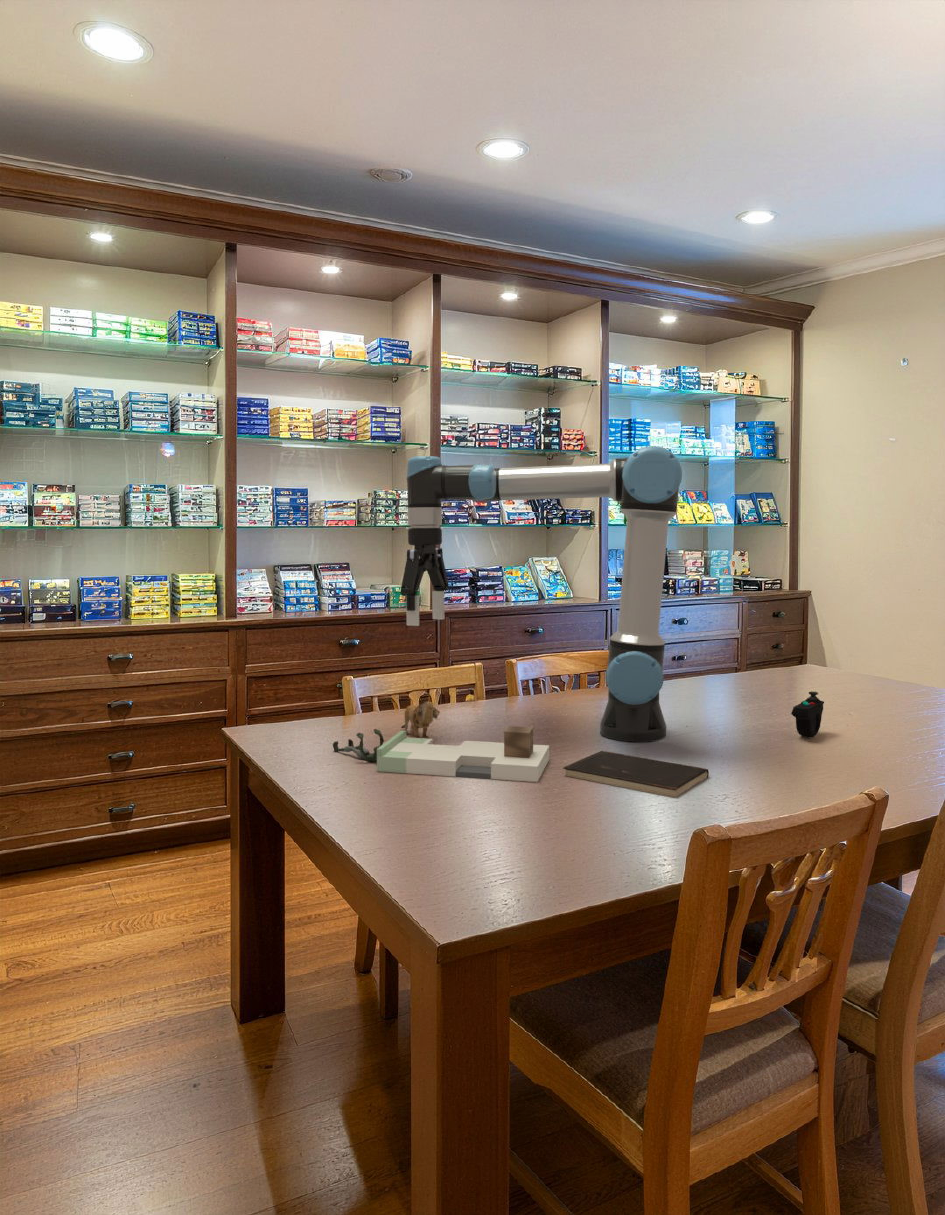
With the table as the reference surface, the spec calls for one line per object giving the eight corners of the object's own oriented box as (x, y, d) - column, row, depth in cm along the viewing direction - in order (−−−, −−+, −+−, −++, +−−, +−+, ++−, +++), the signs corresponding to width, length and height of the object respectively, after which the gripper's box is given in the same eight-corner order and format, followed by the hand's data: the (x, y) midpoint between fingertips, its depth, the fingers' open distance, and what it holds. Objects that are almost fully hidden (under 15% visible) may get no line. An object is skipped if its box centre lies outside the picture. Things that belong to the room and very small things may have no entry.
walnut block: (533, 751, 172) (533, 727, 172) (529, 758, 167) (529, 733, 167) (508, 750, 173) (508, 726, 173) (504, 756, 169) (504, 731, 168)
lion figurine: (442, 741, 193) (442, 702, 192) (422, 744, 190) (422, 704, 189) (410, 728, 205) (410, 691, 204) (390, 731, 202) (390, 694, 201)
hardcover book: (674, 801, 152) (675, 788, 152) (563, 778, 166) (563, 767, 166) (708, 779, 165) (709, 768, 165) (602, 760, 179) (602, 750, 179)
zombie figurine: (352, 718, 186) (391, 732, 175) (352, 749, 187) (390, 765, 175) (331, 721, 183) (369, 735, 171) (330, 753, 184) (368, 769, 172)
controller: (825, 733, 199) (826, 691, 199) (807, 744, 190) (809, 700, 189) (806, 731, 202) (807, 689, 201) (788, 741, 193) (789, 697, 192)
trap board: (549, 759, 177) (549, 738, 177) (537, 782, 162) (537, 758, 161) (401, 750, 185) (401, 730, 184) (377, 771, 169) (376, 749, 169)
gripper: (432, 527, 203) (433, 616, 205) (383, 527, 180) (385, 627, 182) (461, 526, 200) (462, 617, 202) (415, 527, 177) (417, 629, 179)
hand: (426, 622), depth 192 cm, fingers open, 13 cm apart
